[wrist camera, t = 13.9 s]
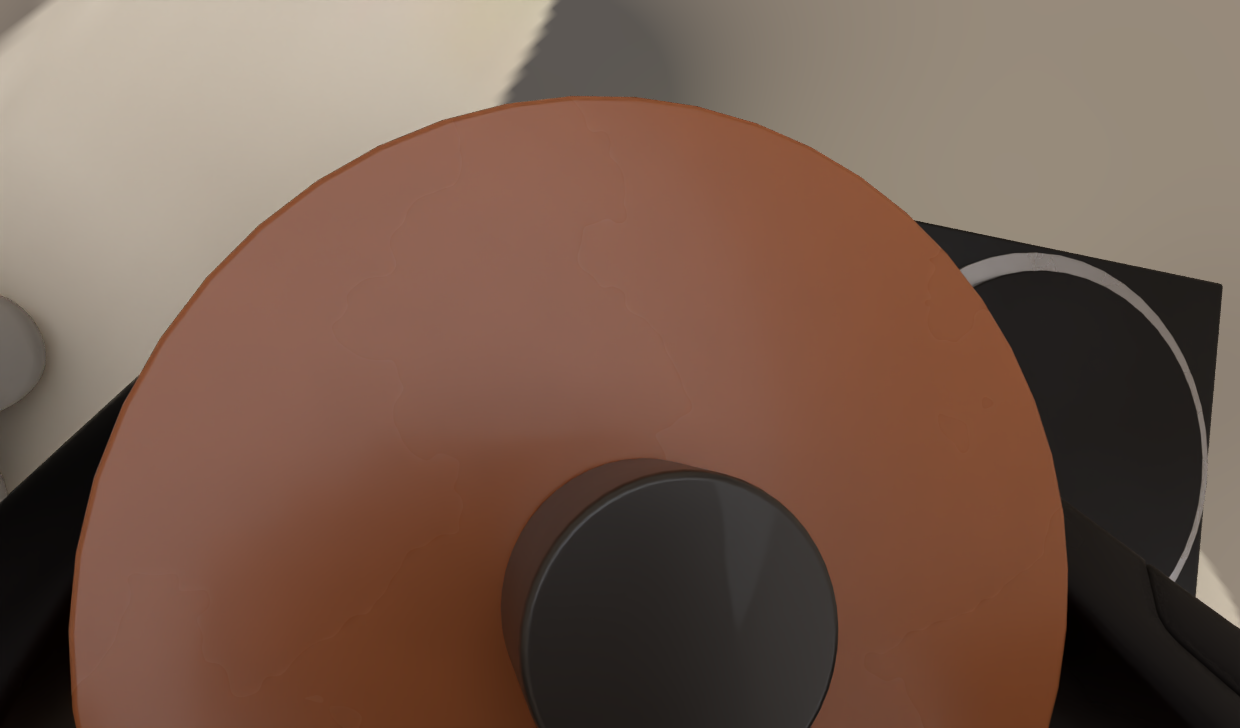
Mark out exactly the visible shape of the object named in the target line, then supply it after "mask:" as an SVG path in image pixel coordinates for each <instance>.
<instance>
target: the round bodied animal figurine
mask: <svg viewBox="0 0 1240 728" xmlns="http://www.w3.org/2000/svg"><path fill="white" fill-rule="evenodd" d="M45 362H46V351H45V346H44V342H43V338H42V336H41V333H40V331H39V329H38V327H37V326H36V324H35V322H34V321H33V320H32V318H31V317H30V316H29V315H28V314H27V313H26V312H25V311H24V310H23V309H22V308H21V307H20V306H18V305H17V304H15V303H14V302H12V301H11V300H9V299H7V298H5V297H3V296H0V411H1V410H3V409H5V408H8V407H9V406H11V405H13V404H15V403H16V402H18V401H19V400H21V399H22V398H23V397H25V396H26V395H27V394H28V393H29V392H30V391H31V390H32V389H33V388H34V386H35V385H36V384H37V383H38V381H39V379H40V378H41V376H42V374H43V371H44V367H45ZM5 497H7V490H6V486H5V482H4V479H3V477H2V475H1V473H0V502H1V501H2V500H3V499H4V498H5Z"/></svg>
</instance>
